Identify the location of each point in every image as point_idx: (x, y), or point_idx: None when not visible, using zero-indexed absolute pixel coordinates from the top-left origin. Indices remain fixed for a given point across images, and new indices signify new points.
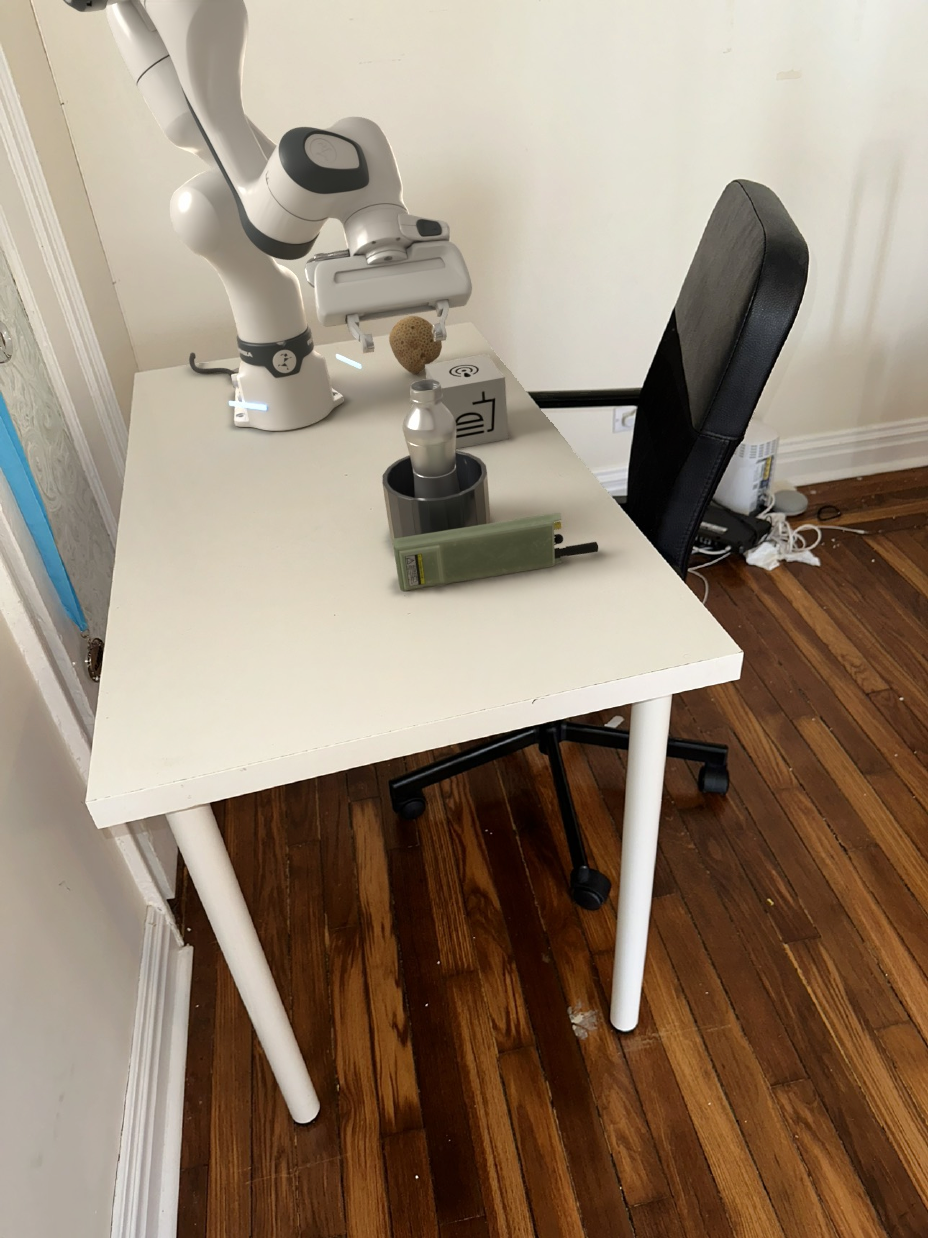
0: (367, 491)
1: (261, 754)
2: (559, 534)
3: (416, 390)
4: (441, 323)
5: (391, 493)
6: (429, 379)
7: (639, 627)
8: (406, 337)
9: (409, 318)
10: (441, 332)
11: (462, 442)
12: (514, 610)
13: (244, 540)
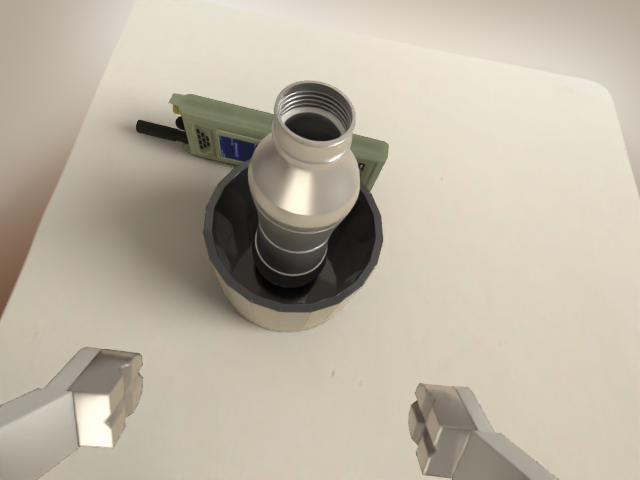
0: (352, 449)
1: (506, 67)
2: (179, 119)
3: (346, 99)
4: (64, 384)
5: (376, 206)
6: (293, 133)
7: (185, 37)
8: None
9: None
10: (102, 355)
11: None
12: (274, 104)
13: (545, 384)
